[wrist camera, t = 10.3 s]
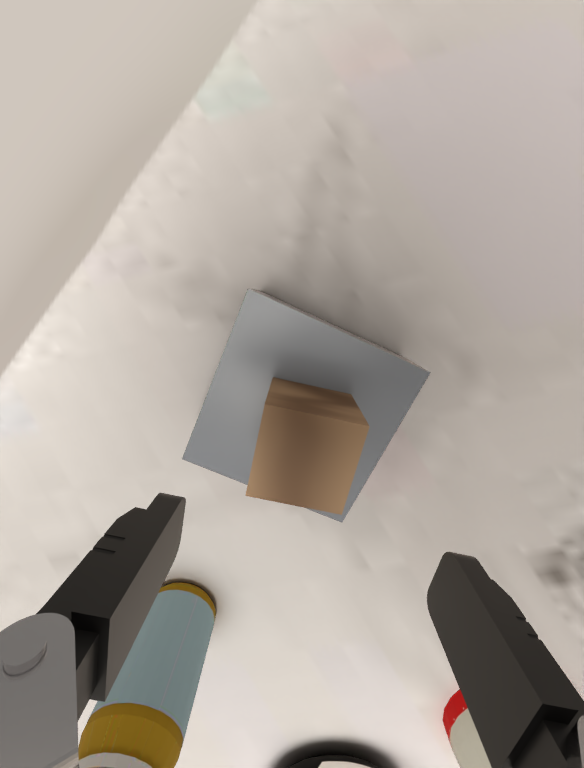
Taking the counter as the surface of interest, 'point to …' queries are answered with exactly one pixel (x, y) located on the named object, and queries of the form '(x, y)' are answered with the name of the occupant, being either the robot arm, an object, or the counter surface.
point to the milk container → (333, 762)
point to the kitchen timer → (463, 734)
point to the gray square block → (303, 365)
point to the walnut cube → (307, 447)
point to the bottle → (153, 686)
